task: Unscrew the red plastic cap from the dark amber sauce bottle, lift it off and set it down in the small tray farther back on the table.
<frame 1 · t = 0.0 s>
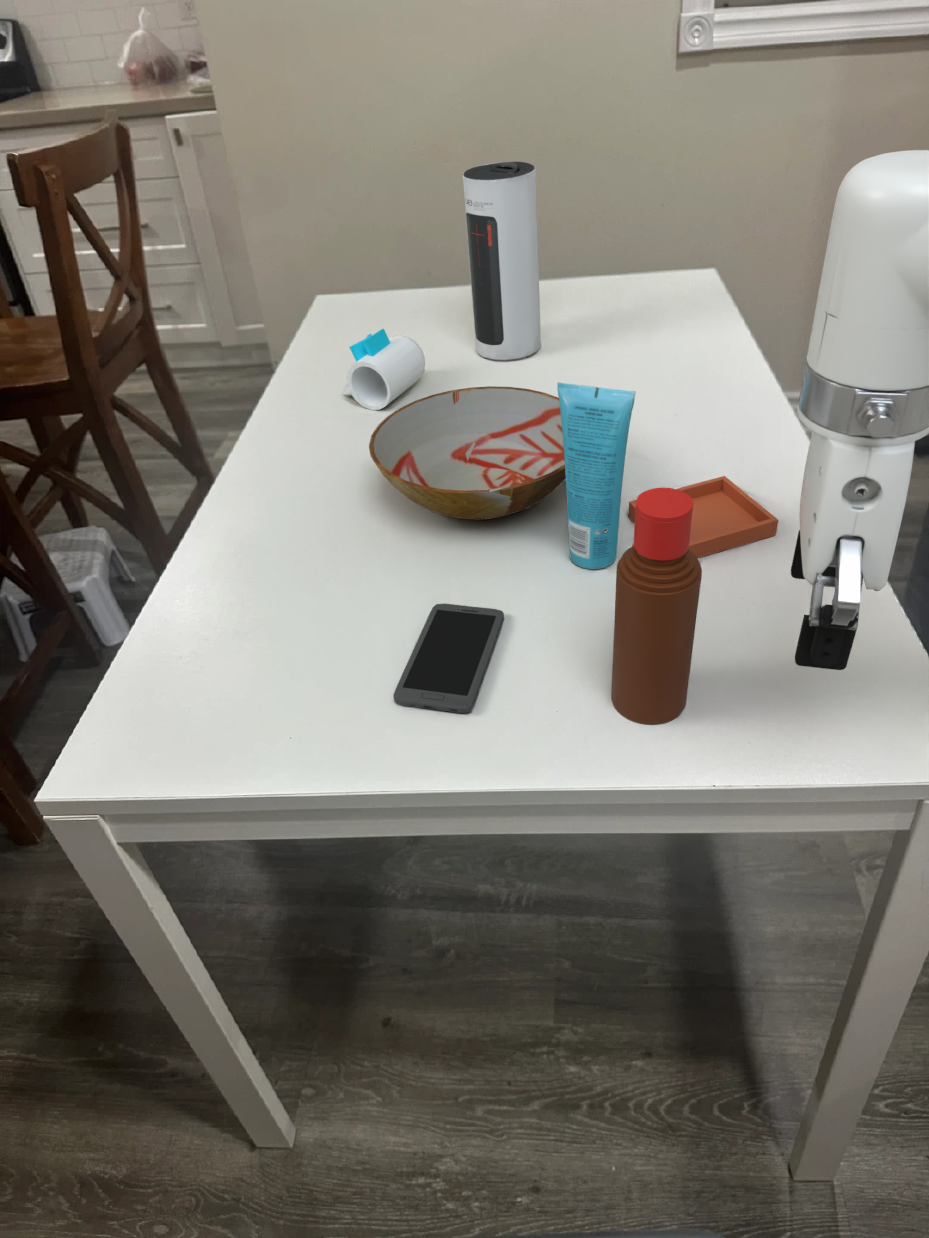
hand: (815, 618, 61), 14 cm above the table, tool pointing down, fingers open, 9 cm apart
bottle: (648, 697, 75), on the table
cell phone: (452, 659, 81), on the table
tube: (592, 557, 92), on the table
bowl: (483, 495, 103), on the table
cap: (664, 506, 63), point 20 cm above the table, screwed on, not yet turned
speaker: (508, 349, 136), on the table
mug: (383, 391, 128), on the table
tray: (699, 525, 95), on the table
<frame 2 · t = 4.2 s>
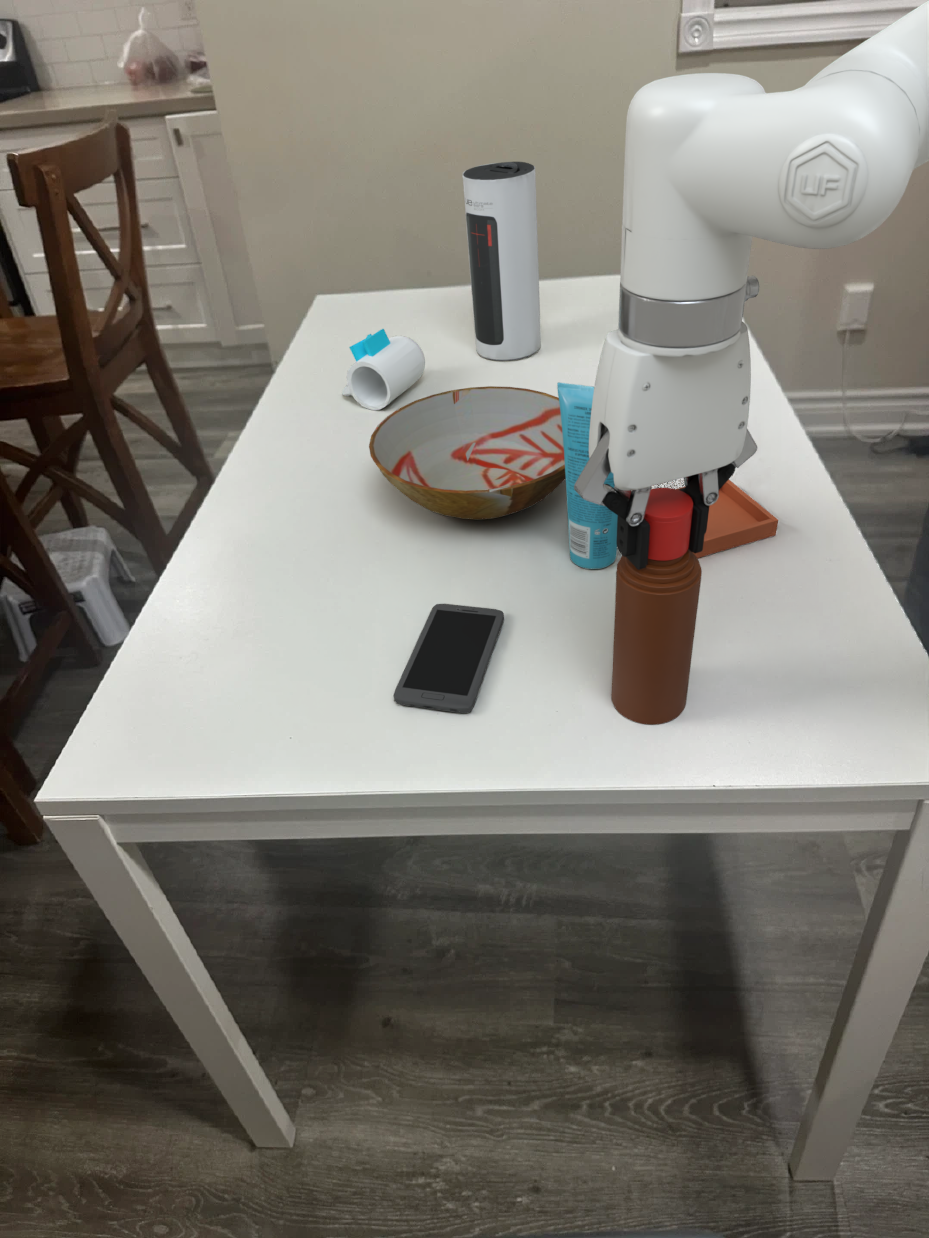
hand: (660, 549, 65), 16 cm above the table, tool pointing down, fingers closed on cap, 4 cm apart
cap: (664, 506, 63), point 20 cm above the table, screwed on, not yet turned, touching gripper
everything else where it was.
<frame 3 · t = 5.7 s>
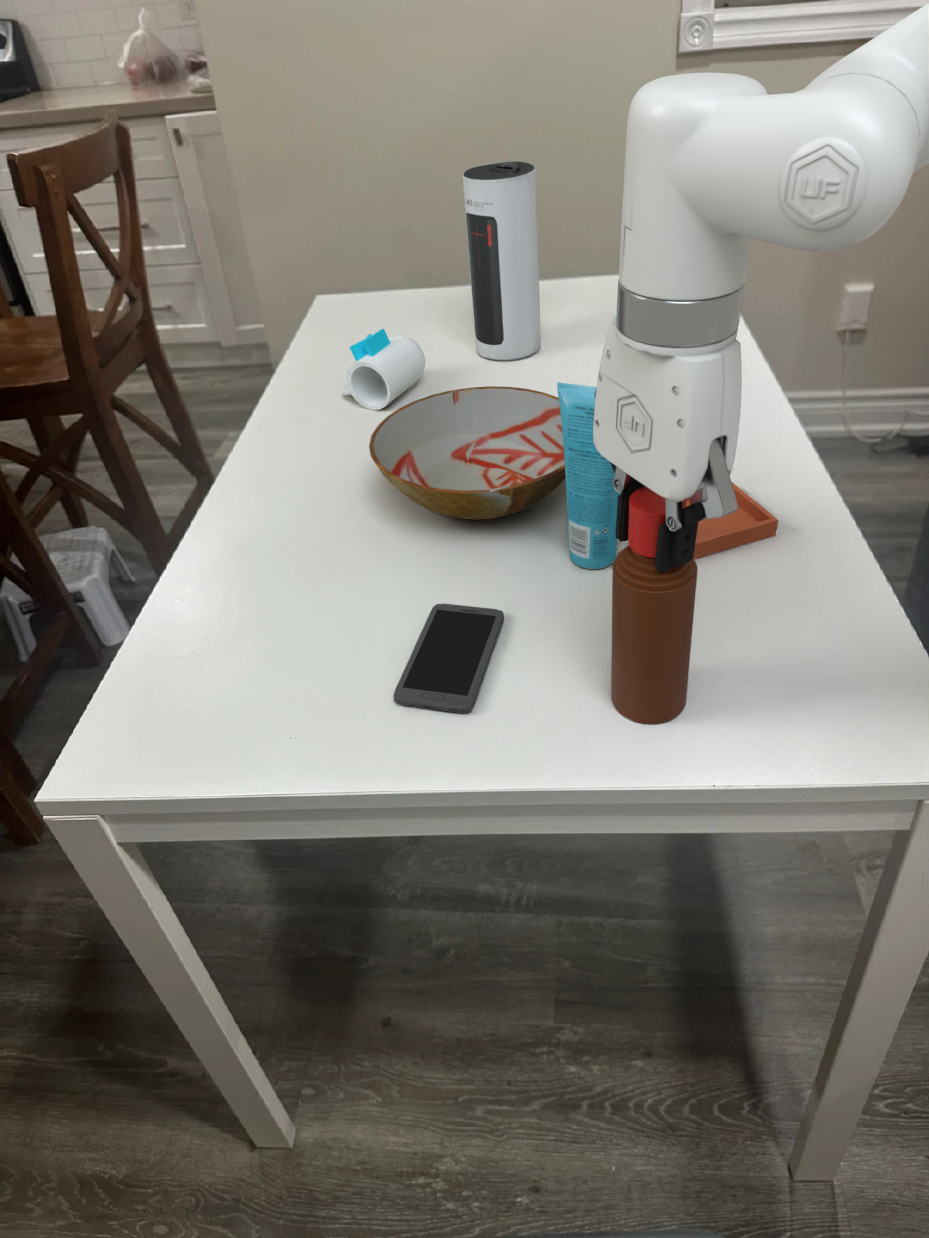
hand: (653, 547, 65), 16 cm above the table, tool pointing down, fingers closed on cap, 4 cm apart
bottle: (648, 697, 75), on the table, touching gripper
cap: (657, 504, 63), point 20 cm above the table, turned 99° so far, risen 0.1 cm, still on its thread, touching gripper
everything else where it was.
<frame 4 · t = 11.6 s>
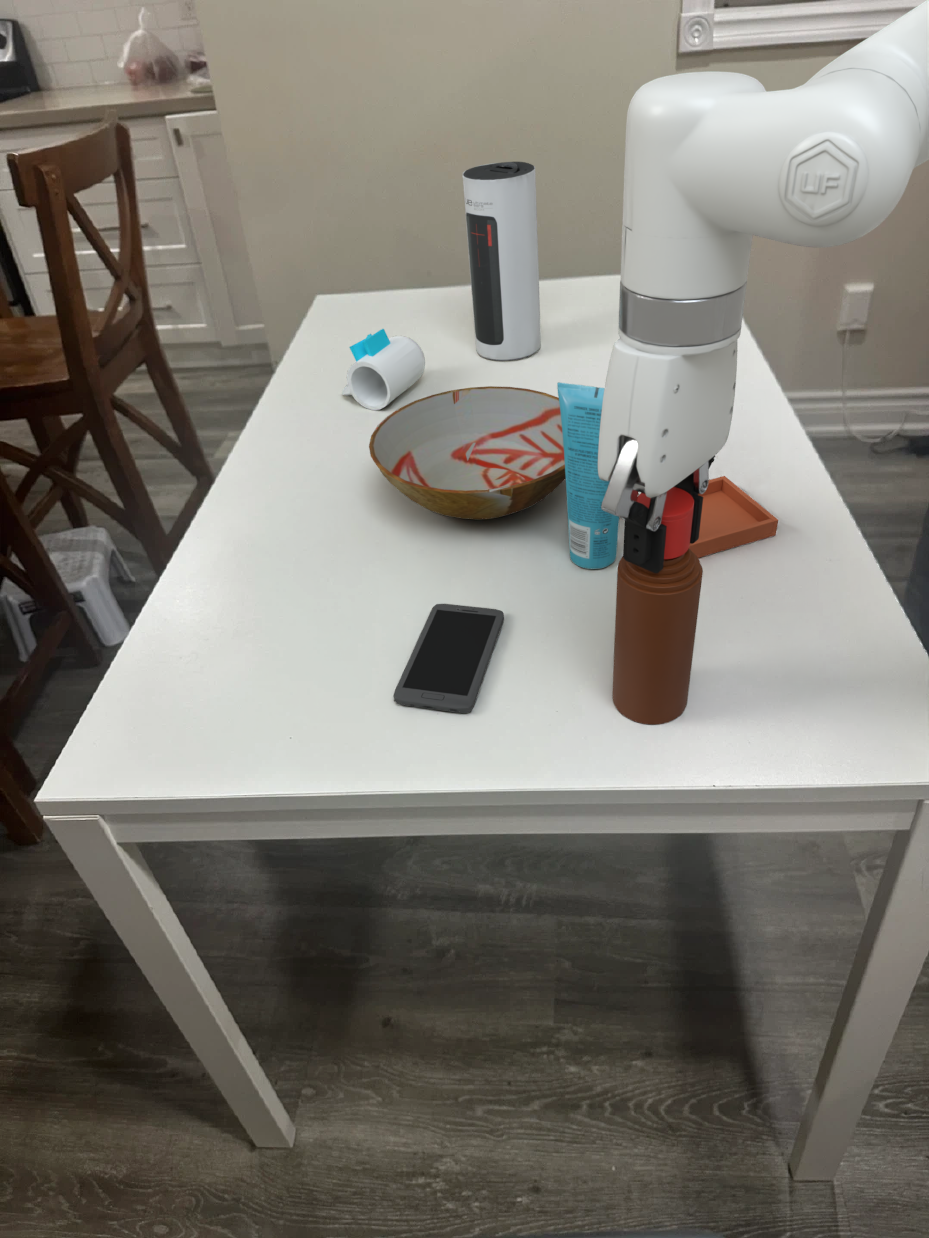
hand: (660, 548, 65), 16 cm above the table, tool pointing down, fingers closed on cap, 4 cm apart
bottle: (649, 697, 75), on the table
cap: (664, 505, 63), point 20 cm above the table, turned 126° so far, risen 0.1 cm, still on its thread, touching gripper
everything else where it was.
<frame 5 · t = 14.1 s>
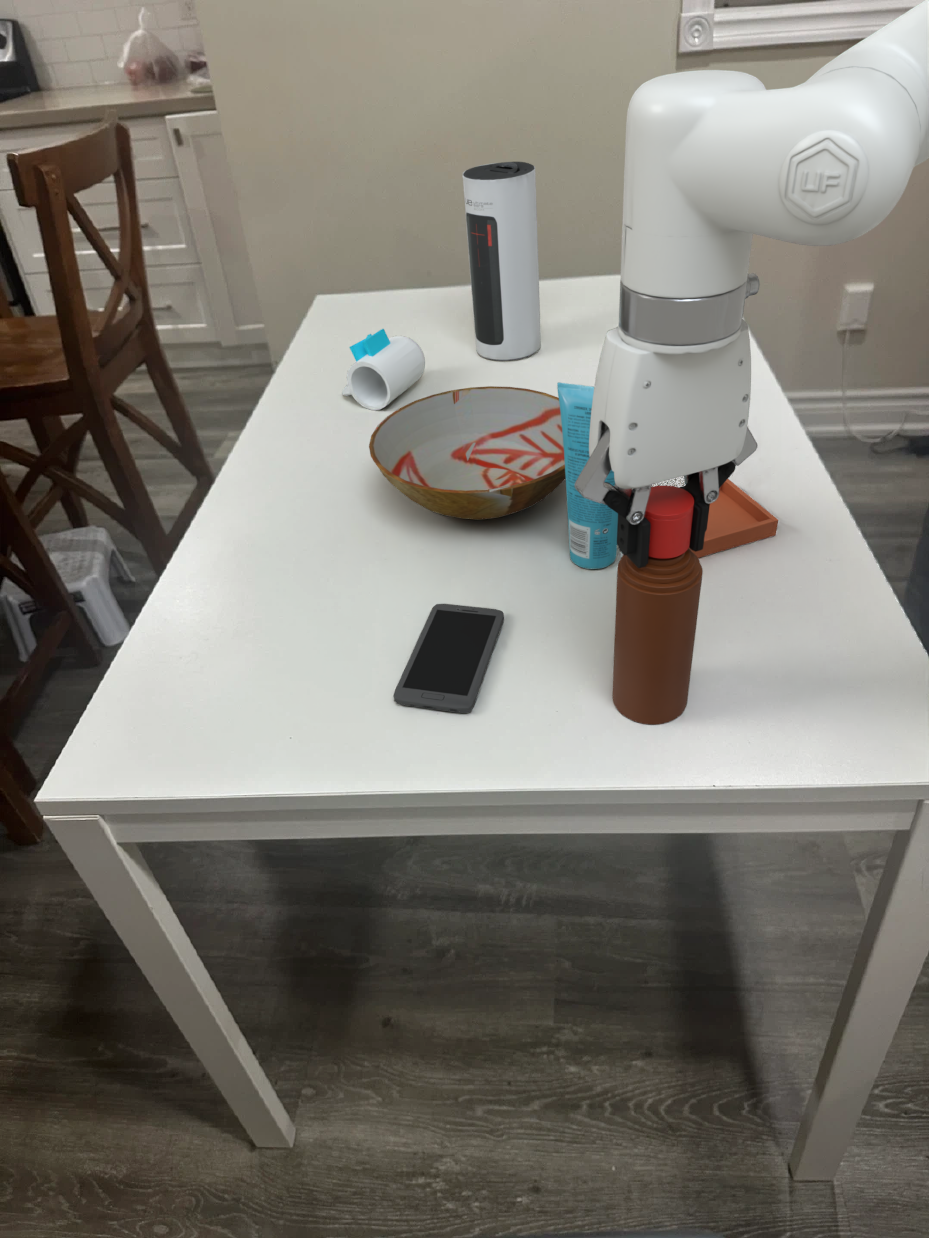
hand: (660, 547, 65), 16 cm above the table, tool pointing down, fingers closed on cap, 4 cm apart
cap: (664, 504, 63), point 20 cm above the table, turned 199° so far, risen 0.2 cm, still on its thread, touching gripper
everything else where it was.
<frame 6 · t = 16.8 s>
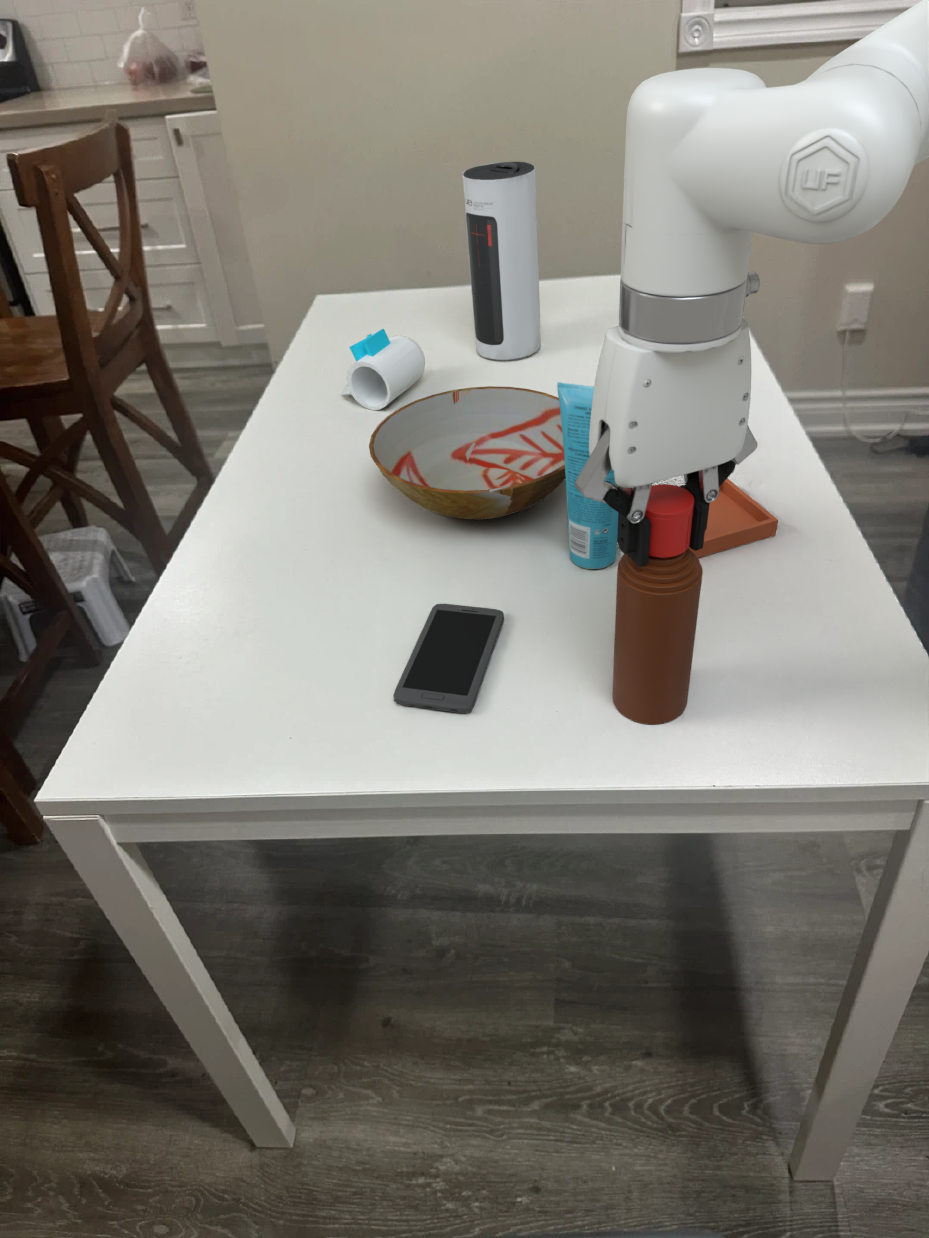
hand: (660, 546, 65), 16 cm above the table, tool pointing down, fingers closed on cap, 3 cm apart
cap: (664, 503, 63), point 20 cm above the table, turned 299° so far, risen 0.3 cm, still on its thread, touching gripper
everything else where it was.
when the fingers open (2 cm above the table, at t = 27.2 s): cap drops 2 cm, resting on tray.
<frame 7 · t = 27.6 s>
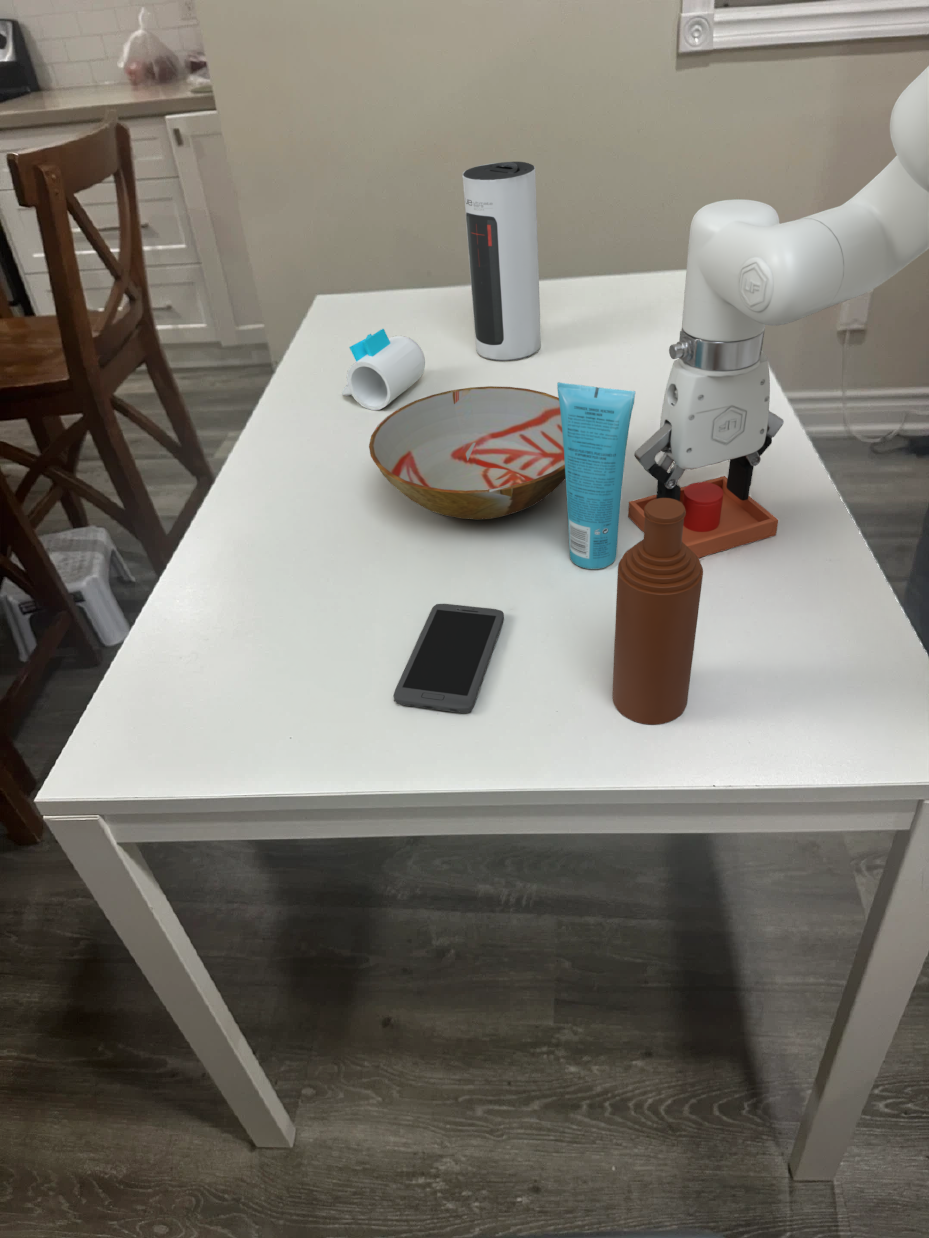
hand: (702, 503, 93), 3 cm above the table, tool pointing down, fingers open, 7 cm apart
cap: (703, 495, 92), point 4 cm above the table, off its thread, touching tray
everything else where it was.
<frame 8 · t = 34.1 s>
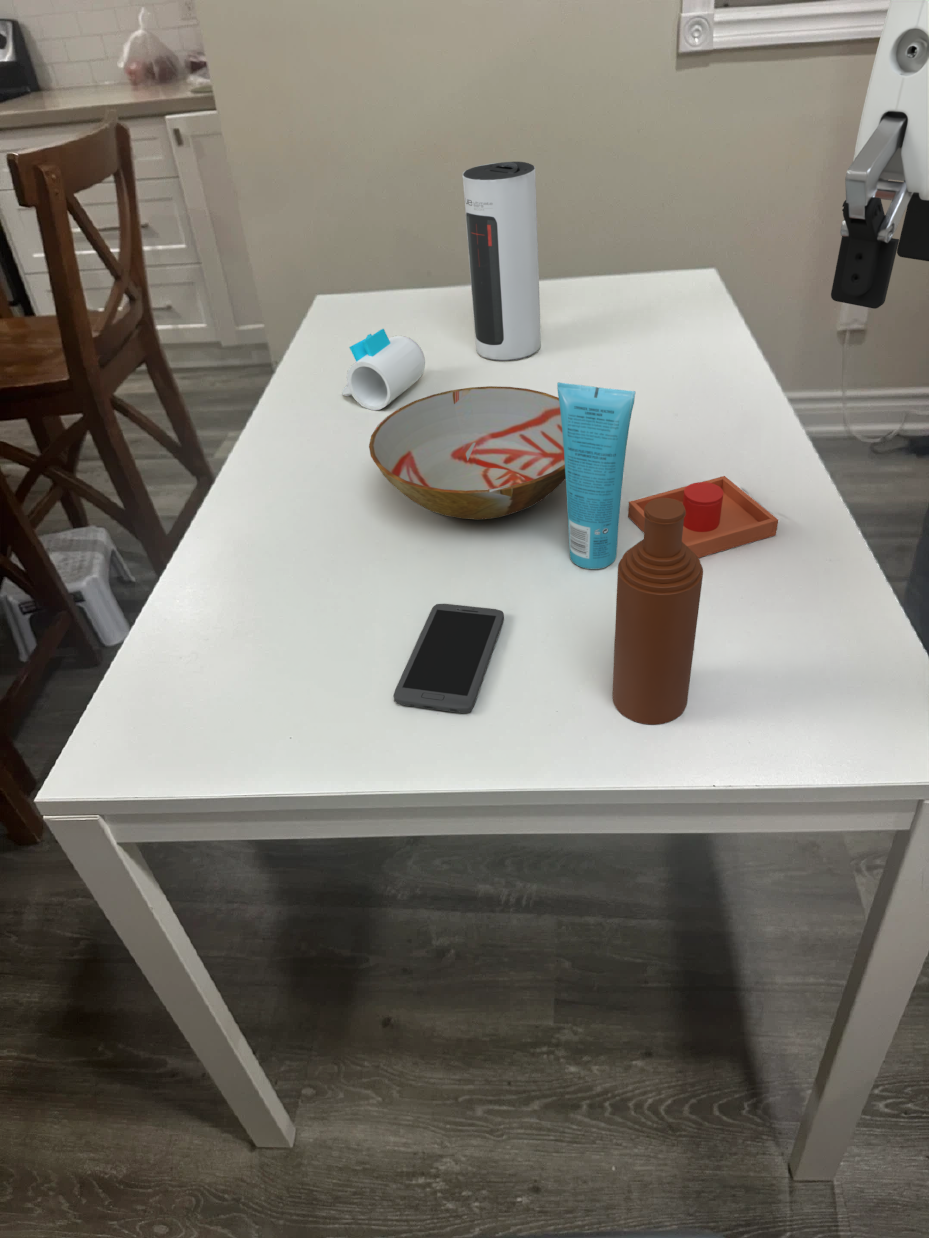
hand: (890, 280, 56), 33 cm above the table, tool pointing down, fingers open, 9 cm apart
nothing on the table moved.
at the end: cap came off its thread; cap inside the target area in the tray (0.1 cm from its centre), point 3.9 cm above the tray's base; the gripper is holding nothing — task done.
